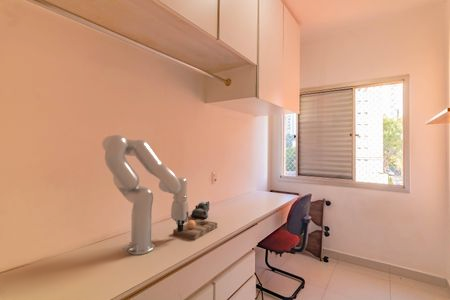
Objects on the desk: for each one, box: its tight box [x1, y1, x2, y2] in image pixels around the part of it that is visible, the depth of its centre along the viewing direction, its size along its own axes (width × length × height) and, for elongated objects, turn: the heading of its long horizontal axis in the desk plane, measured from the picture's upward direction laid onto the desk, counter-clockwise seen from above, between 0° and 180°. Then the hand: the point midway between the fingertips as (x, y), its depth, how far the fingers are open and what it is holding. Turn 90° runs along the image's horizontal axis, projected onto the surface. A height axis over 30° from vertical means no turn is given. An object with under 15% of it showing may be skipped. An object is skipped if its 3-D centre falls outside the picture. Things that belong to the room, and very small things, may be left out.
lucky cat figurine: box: [189, 201, 210, 219], centre depth 169 cm, size 15×12×14 cm
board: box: [172, 218, 218, 241], centre depth 140 cm, size 24×16×3 cm, turn 150°
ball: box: [186, 219, 196, 229], centre depth 135 cm, size 5×5×5 cm
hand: (180, 230), depth 129 cm, fingers closed
